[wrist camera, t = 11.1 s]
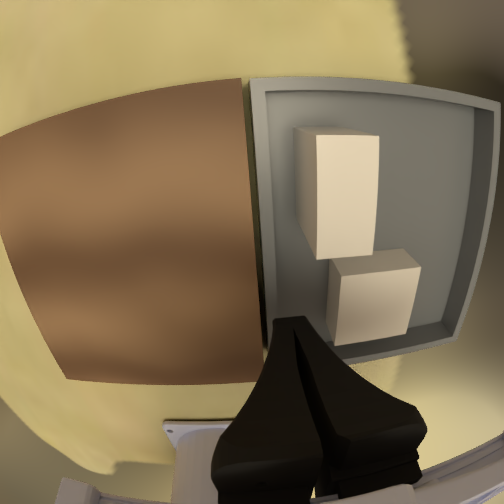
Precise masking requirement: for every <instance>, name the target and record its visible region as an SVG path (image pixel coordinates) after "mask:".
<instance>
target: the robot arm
mask: <svg viewBox="0 0 504 504" xmlns="http://www.w3.org/2000/svg"><path fill="white" fill-rule="evenodd" d="M272 325H273V331H272V338H271V343H270V347H269V351H268V354H267V358H266V360H265V363H264V366H263V369H262V371H261V374H260V376H259V378H258V381H257V383H256V385H255V387H254V389H253V390H252V392H251V394H250V396H249V398H248V399H247V401H246V403H245V404H244V406H243V407H242V409H241V410H240V412H239V413H238V414H237V416H236V417H235V419H234V420H233V421H165V422H163V424H162V428H163V429H164V431H165V433H166V435H167V437H168V438H169V440H170V442H171V444H172V445H173V447H174V449H175V450H176V459H175V467H174V477H173V485H172V495H171V503H165V502H156V501H148V500H141V499H134V498H128V497H122V496H117V495H111V494H106V493H102V492H100V491H99V490H98V489H97V488H96V487H94V486H92V485H90V484H88V483H85V482H81V481H77V480H74V479H70V478H66V477H63V478H62V480H61V484H60V487H59V491H58V494H57V498H56V501H55V504H482V503H484V502H485V501H487V500H489V499H491V498H492V497H494V496H496V495H497V494H498V493H500V492H502V491H503V490H504V431H503V433H502V434H501V435H499V436H497V437H495V438H493V439H492V440H490V441H488V442H486V443H484V444H482V445H480V446H478V447H476V448H474V449H472V450H470V451H467V452H465V453H463V454H461V455H459V456H456V457H454V458H452V459H450V460H447V461H445V462H442V463H440V464H437V465H435V466H432V467H430V468H427V469H424V470H422V471H421V470H420V467H419V464H418V462H417V460H418V459H419V455H418V452H417V448H418V446H419V445H420V443H421V442H422V440H423V439H424V437H425V435H426V433H427V426H426V424H425V422H424V419H423V418H422V417H421V414H420V413H419V411H418V410H417V408H416V407H415V406H413V405H411V404H409V403H406V402H404V401H402V400H399V399H397V398H395V397H393V396H391V395H389V394H388V393H386V392H384V391H382V390H380V389H379V388H377V387H376V386H374V385H373V384H371V383H370V382H368V381H367V380H365V379H364V378H363V377H361V376H360V375H359V374H357V373H356V372H355V371H354V370H353V369H351V368H350V367H349V366H348V365H347V364H346V363H345V362H344V361H342V360H341V359H340V358H339V357H338V356H337V355H336V354H335V352H334V351H333V350H332V349H331V348H330V347H329V346H328V345H327V344H326V342H325V341H324V340H323V339H322V338H321V336H320V335H319V334H318V333H317V331H316V330H315V329H314V327H313V326H312V325H311V323H310V322H309V320H308V319H307V317H306V316H304V315H302V316H293V317H283V318H275V319H274V320H273V321H272ZM314 487H315V498H311V496H312V492H313V488H314Z"/></svg>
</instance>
